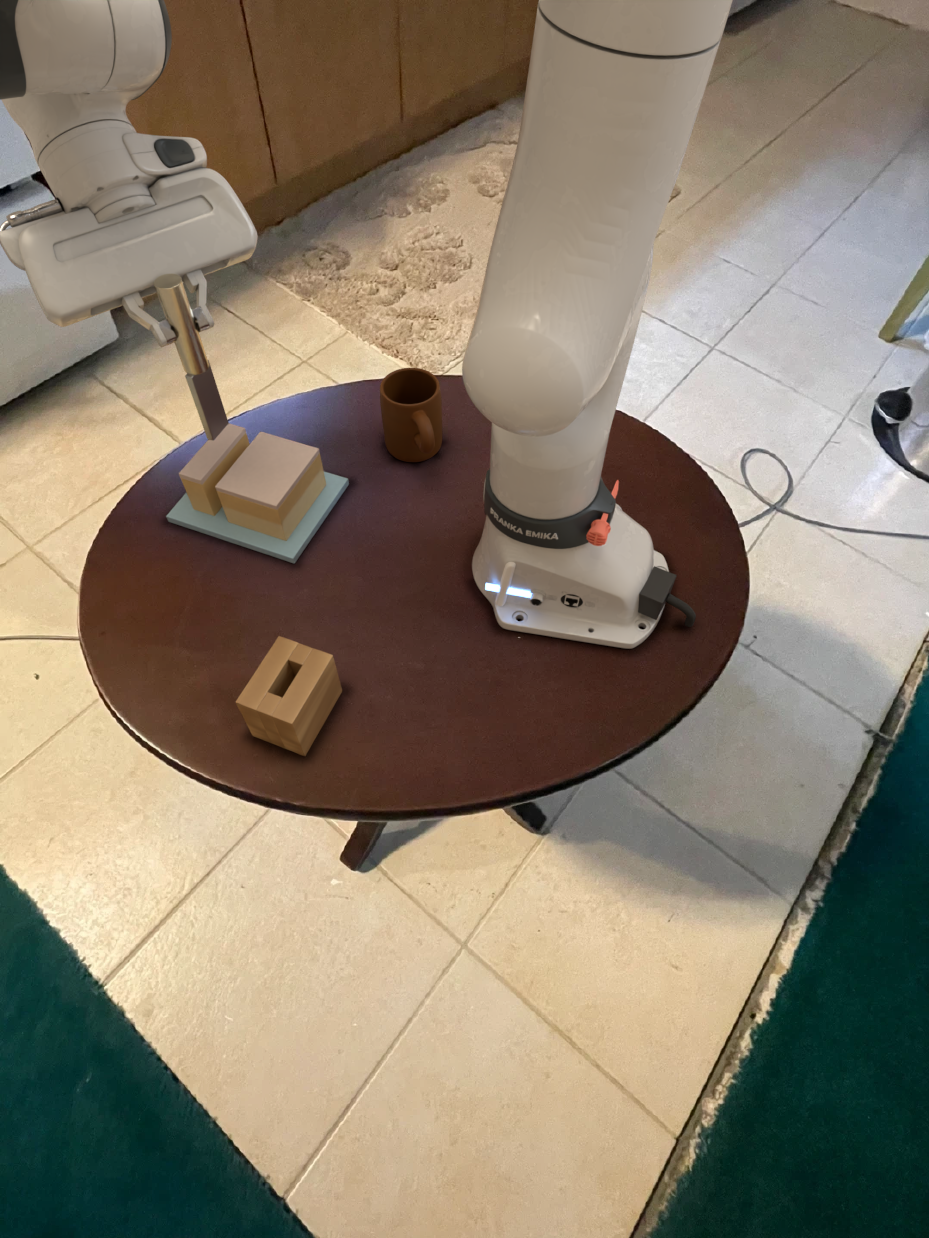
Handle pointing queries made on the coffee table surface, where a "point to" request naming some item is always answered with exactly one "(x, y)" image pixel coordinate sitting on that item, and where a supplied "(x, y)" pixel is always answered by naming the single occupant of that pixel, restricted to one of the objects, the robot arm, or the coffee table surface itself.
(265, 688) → the knife block
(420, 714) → the coffee table surface
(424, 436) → the mug
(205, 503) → the cake slice
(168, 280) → the knife
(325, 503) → the cake
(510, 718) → the coffee table surface
